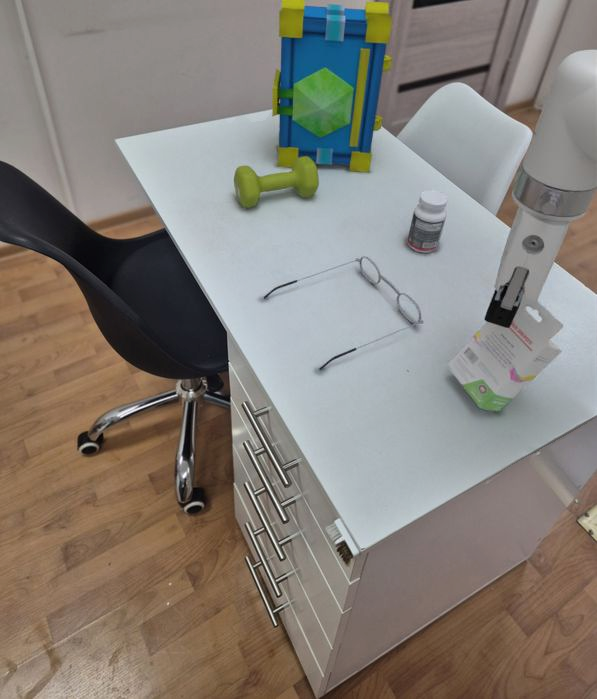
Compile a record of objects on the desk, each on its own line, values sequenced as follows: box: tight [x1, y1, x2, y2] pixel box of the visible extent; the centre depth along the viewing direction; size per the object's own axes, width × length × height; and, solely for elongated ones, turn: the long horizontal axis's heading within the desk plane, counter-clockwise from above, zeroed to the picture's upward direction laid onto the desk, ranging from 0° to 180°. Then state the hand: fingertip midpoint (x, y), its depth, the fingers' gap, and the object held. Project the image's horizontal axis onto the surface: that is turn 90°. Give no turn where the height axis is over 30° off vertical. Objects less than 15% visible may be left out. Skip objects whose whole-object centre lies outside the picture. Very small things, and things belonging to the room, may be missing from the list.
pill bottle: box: [407, 189, 448, 254], centre depth 98 cm, size 6×6×10 cm
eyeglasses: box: [263, 255, 424, 371], centre depth 86 cm, size 18×19×4 cm
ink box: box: [446, 292, 564, 412], centre depth 72 cm, size 9×5×15 cm
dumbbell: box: [233, 156, 320, 209], centre depth 108 cm, size 16×8×7 cm, turn 112°
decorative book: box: [271, 0, 393, 173], centre depth 112 cm, size 14×23×30 cm, turn 88°
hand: (497, 320), depth 69 cm, fingers closed
